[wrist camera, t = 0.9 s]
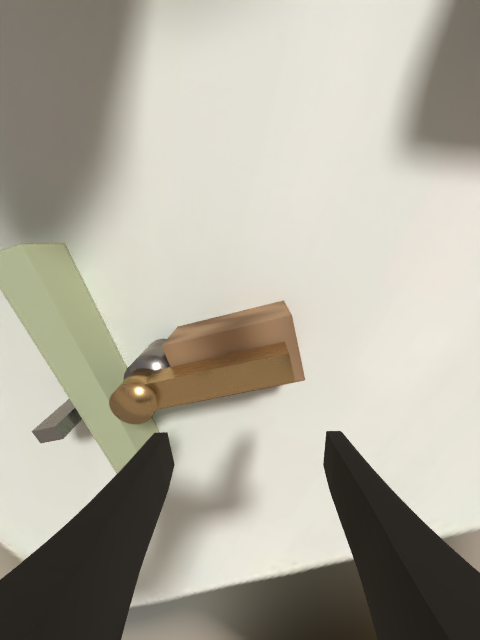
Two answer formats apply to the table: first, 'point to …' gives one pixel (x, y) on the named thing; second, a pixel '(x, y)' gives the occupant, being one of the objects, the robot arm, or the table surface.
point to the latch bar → (200, 381)
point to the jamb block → (235, 336)
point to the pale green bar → (72, 341)
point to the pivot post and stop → (69, 416)
